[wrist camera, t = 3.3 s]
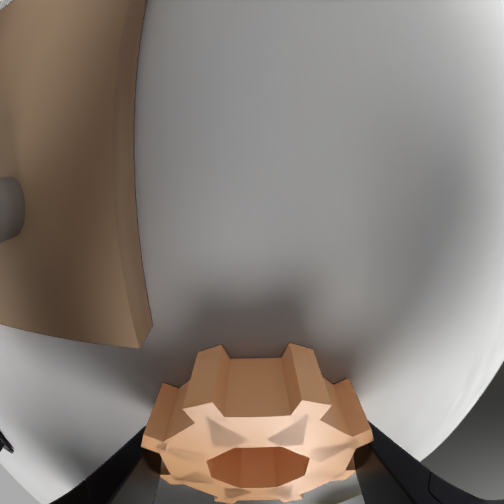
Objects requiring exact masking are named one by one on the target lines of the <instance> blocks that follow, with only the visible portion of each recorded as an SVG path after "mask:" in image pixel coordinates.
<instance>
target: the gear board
mask: <svg viewBox="0 0 504 504" xmlns="http://www.w3.org/2000/svg"><path fill="white" fill-rule="evenodd" d="M146 2H147V0H13V1H11V2H10V3H9V4H8V5H6V6H5V7H4V8H2V9H1V10H0V324H1V325H5V326H9V327H13V328H17V329H21V330H25V331H29V332H34V333H39V334H43V335H48V336H53V337H59V338H64V339H70V340H76V341H82V342H88V343H95V344H103V345H111V346H119V347H129V348H140V347H141V345H142V343H143V342H144V340H145V338H146V337H147V335H148V333H149V332H150V330H151V328H152V327H153V325H152V320H151V314H150V309H149V304H148V298H147V292H146V286H145V280H144V273H143V266H142V258H141V250H140V242H139V233H138V222H137V210H136V196H135V177H134V106H135V87H136V74H137V63H138V54H139V46H140V38H141V31H142V25H143V19H144V13H145V7H146Z"/></svg>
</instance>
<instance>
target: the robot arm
mask: <svg viewBox="0 0 504 504" xmlns="http://www.w3.org/2000/svg"><path fill="white" fill-rule="evenodd" d="M368 423H369V425H370V427H371V430H372V434H373V439H374V441H372V442H370V443H368V444H365V445H363V446H360V447H358V448H356V449H355V451H354V454H353V458H354V464H355V470H356V475H357V478H358V481H359V485H360V488H361V491H362V495H363V497H364V501H365V504H504V500H484V499H480V498H477V497H475V496H473V495H471V494H469V493H467V492H465V491H463V490H461V489H459V488H457V487H455V486H453V485H452V484H450V483H448V482H447V481H445V480H444V479H442V478H441V477H439V476H438V475H436V474H435V473H434V472H432V471H430V469H428V468H427V467H426V466H424V465H423V464H422V463H420V462H419V461H418V460H416V459H415V458H414V457H413V456H411V455H410V454H409V453H407V452H406V451H405V450H404V449H402V448H401V447H400V446H399V445H397V444H396V443H395V442H394V441H392V440H391V439H390V438H389V437H387V436H386V435H385V434H384V433H383V432H381V431H380V430H379V429H378V428H377V427H375V426H374V425H373V424H372V423H371V422H369V421H368ZM146 426H147V425H146ZM146 426H144V427H143V428H142V429H141V430H140V431H139V432H138V433H137V434H136V435H135V436H134V437H133V438H132V439H130V440H129V441H128V442H127V443H126V444H125V445H124V446H123V447H122V448H121V449H119V450H118V451H117V452H116V453H115V454H114V455H113V456H112V457H110V458H109V459H108V460H107V461H106V462H105V463H104V464H102V465H101V466H100V467H99V468H98V469H97V470H95V471H94V472H93V473H92V474H91V475H90V476H88V477H87V478H86V479H85V480H86V481H85V480H83V481H82V482H81V483H80V484H79V485H77V486H76V487H75V488H73V489H72V490H71V491H69V492H68V493H66V494H65V495H63V496H62V497H60V498H58V499H57V500H55V501H53V502H51V503H50V504H153V503H154V499H155V495H156V491H157V487H158V483H159V478H160V471H161V462H162V457H161V456H160V454H159V453H157V452H154V451H152V450H149V449H146V448H143V447H141V444H142V439H143V434H144V432H145V429H146ZM3 448H4V449H6V450H7V451H9V452H10V453H13V452H14V450H13V449H12V448H11V447H10V445H9V444H8V443H7V442H6V441H5V439H4V438H3V437H2V436H1V434H0V452H1V450H2V449H3Z"/></svg>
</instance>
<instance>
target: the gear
mask: <svg viewBox="0 0 504 504" xmlns="http://www.w3.org/2000/svg"><path fill="white" fill-rule="evenodd" d="M372 441H374V439H373V434H372V430H371V427H370V425H369V423H368V420H367V418H366V416H365V413H364V411H363V409H362V406H361V404H360V402H359V399H358V397H357V395H356V393H355V390H354V388H353V386H352V384H351V381H350V379H349V378H348V379H345V380H343V381H341V382H338V383H336V384H332V383H330V382H329V381H328V380H326V379H325V378H323V377H322V374H321V371H320V368H319V365H318V362H317V359H316V356H315V353H314V350H313V349H310V348H306V347H303V346H299V345H295V344H292V343H289V344H288V346H287V348H286V350H285V352H284V353H283V355H282V357H278V358H244V359H230V358H229V356H228V354H227V353H226V351H225V350H224V348H223V346H222V345H218V346H215V347H212V348H209V349H206V350H203V351H200V352H198V353H197V357H196V360H195V364H194V368H193V371H192V375H191V379H190V380H189V381H187V382H186V383H185V384H184V385H182V386H181V387H180V388H177V387H174V386H171V385H168V384H166V383H162V386H161V388H160V391H159V394H158V396H157V399H156V402H155V404H154V407H153V410H152V412H151V415H150V418H149V421H148V423H147V426H146V429H145V432H144V434H143V439H142V444H141V447H143V448H146V449H149V450H152V451H154V452H157V453H159V454H160V456H161V457H162V462H161V471H160V477H161V478H163V479H164V480H165V481H167V482H168V483H170V484H171V485H173V484H185V485H187V486H189V487H192V488H194V489H197V490H200V491H202V492H205V493H208V494H210V495H213V496H214V501H217V502H223V503H229V504H234V503H236V502H237V501H238V500H275V499H279V500H280V501H282V502H283V503H286V502H290V501H295V500H300V499H303V495H302V494H303V493H305V492H308V491H310V490H313V489H315V488H317V487H319V486H322V485H324V484H326V483H328V482H330V481H335V480H346V479H347V478H349V477H350V476H351V475H352V474H354V473H355V472H356V470H355V464H354V458H353V454H354V451H355V449H356V448H358V447H360V446H363V445H365V444H368V443H370V442H372Z"/></svg>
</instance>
